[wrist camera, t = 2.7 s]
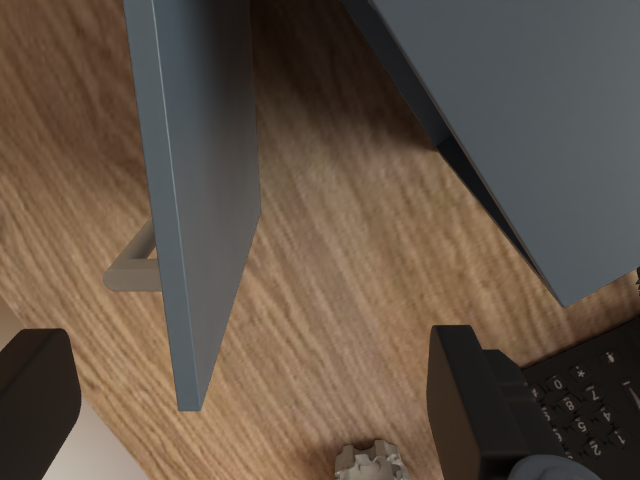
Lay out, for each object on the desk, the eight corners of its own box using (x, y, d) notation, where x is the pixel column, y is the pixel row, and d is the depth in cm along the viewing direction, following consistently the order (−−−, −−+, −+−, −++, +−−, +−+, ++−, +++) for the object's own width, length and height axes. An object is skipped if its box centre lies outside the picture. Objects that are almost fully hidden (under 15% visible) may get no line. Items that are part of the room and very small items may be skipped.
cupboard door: (183, 213, 47) (47, 412, 24) (143, -143, 37) (-156, -392, 14) (261, 212, 47) (201, 411, 24) (241, -144, 37) (107, -396, 14)
